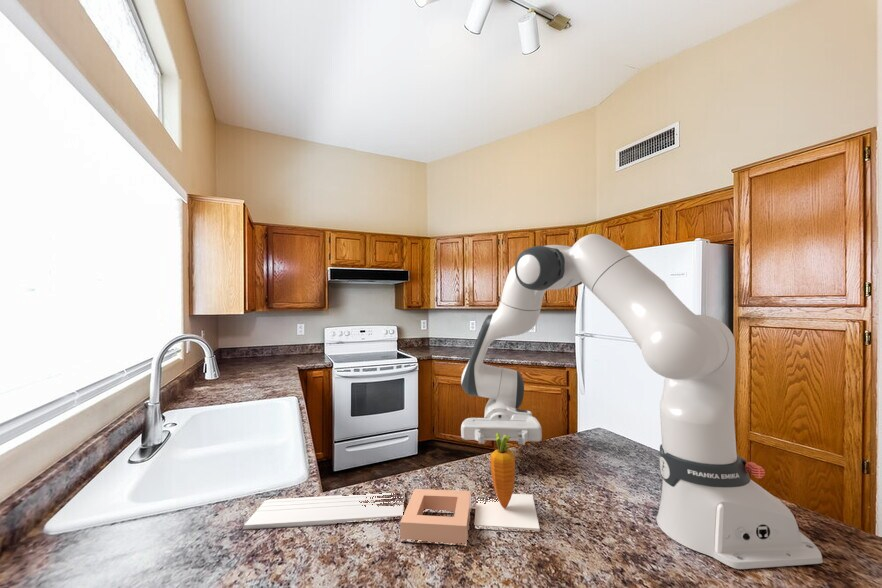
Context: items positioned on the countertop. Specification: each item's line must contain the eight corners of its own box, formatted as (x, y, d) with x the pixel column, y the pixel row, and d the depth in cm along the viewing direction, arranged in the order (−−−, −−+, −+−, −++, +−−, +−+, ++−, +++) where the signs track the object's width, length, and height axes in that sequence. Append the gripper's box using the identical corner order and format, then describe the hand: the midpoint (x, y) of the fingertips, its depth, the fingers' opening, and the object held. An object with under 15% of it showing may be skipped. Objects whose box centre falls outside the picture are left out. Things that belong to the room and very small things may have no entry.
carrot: (492, 501, 75) (489, 429, 75) (515, 502, 74) (513, 429, 75) (492, 514, 70) (489, 437, 70) (517, 515, 69) (514, 437, 70)
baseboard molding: (270, 500, 81) (243, 533, 69) (270, 487, 81) (243, 518, 69) (406, 492, 82) (403, 523, 70) (406, 479, 82) (403, 508, 70)
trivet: (532, 498, 77) (532, 494, 77) (539, 533, 65) (539, 528, 65) (477, 496, 78) (477, 492, 78) (474, 529, 66) (474, 524, 66)
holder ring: (471, 508, 74) (470, 491, 74) (467, 546, 62) (466, 526, 62) (415, 505, 75) (414, 488, 75) (400, 542, 63) (400, 522, 64)
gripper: (462, 410, 99) (457, 426, 85) (536, 411, 96) (544, 428, 82) (462, 432, 99) (458, 453, 85) (537, 434, 96) (545, 455, 82)
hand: (501, 440), depth 84 cm, fingers open, 8 cm apart
